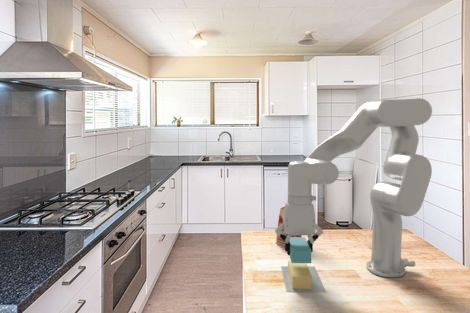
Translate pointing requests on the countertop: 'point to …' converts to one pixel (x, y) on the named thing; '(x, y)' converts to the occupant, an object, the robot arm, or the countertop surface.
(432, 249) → the countertop surface
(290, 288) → the base plate
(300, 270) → the ochre brick
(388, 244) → the robot arm
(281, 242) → the milk carton
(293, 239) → the teal brick
